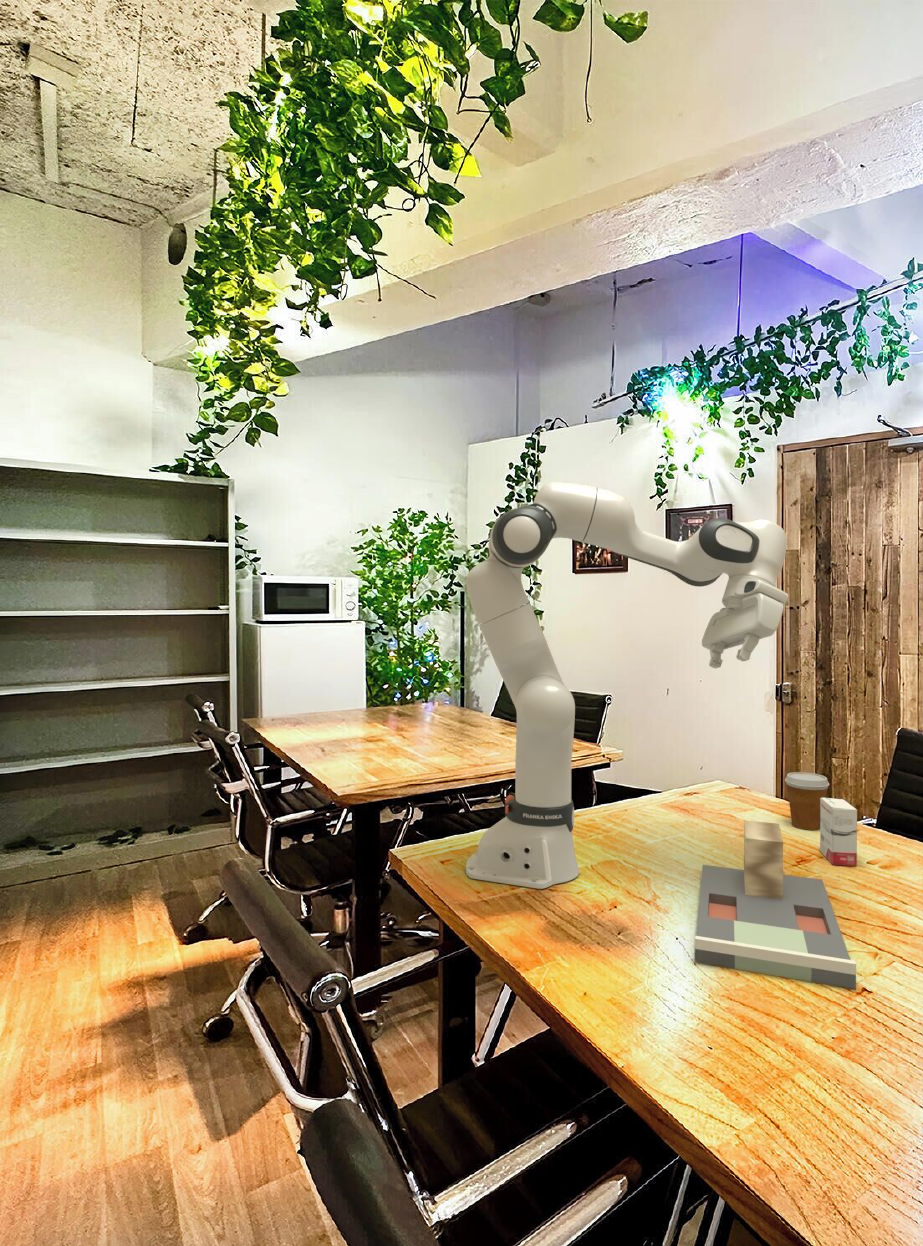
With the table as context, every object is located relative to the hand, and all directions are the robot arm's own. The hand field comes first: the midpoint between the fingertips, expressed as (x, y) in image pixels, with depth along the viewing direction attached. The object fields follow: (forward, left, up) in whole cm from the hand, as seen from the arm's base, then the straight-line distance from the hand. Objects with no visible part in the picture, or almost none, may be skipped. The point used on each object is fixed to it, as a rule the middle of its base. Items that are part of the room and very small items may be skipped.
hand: (727, 663), depth 132 cm
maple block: (+5, -5, -40) cm, 41 cm away
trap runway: (+3, -16, -42) cm, 45 cm away
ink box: (+25, +18, -42) cm, 52 cm away
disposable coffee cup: (+25, +40, -42) cm, 63 cm away
